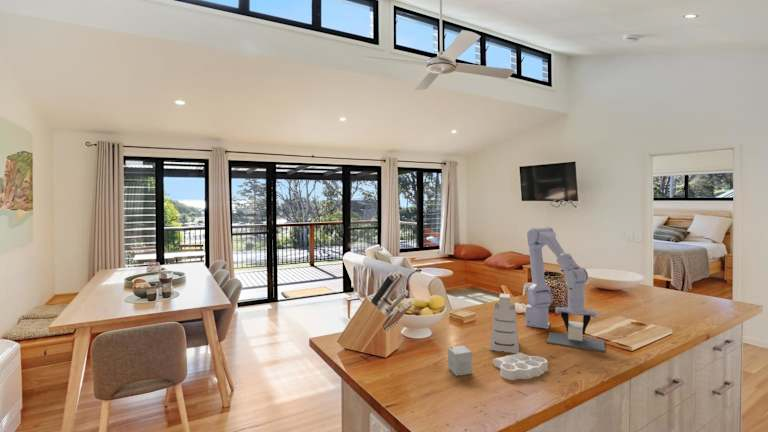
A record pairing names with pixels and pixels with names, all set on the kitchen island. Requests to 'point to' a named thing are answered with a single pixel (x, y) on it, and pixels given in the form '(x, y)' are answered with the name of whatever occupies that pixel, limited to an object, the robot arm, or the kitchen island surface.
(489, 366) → the kitchen island surface
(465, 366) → the skincare box
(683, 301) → the kitchen island surface
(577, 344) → the mat
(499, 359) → the white scalloped muffin tray
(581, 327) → the block
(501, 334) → the grater
